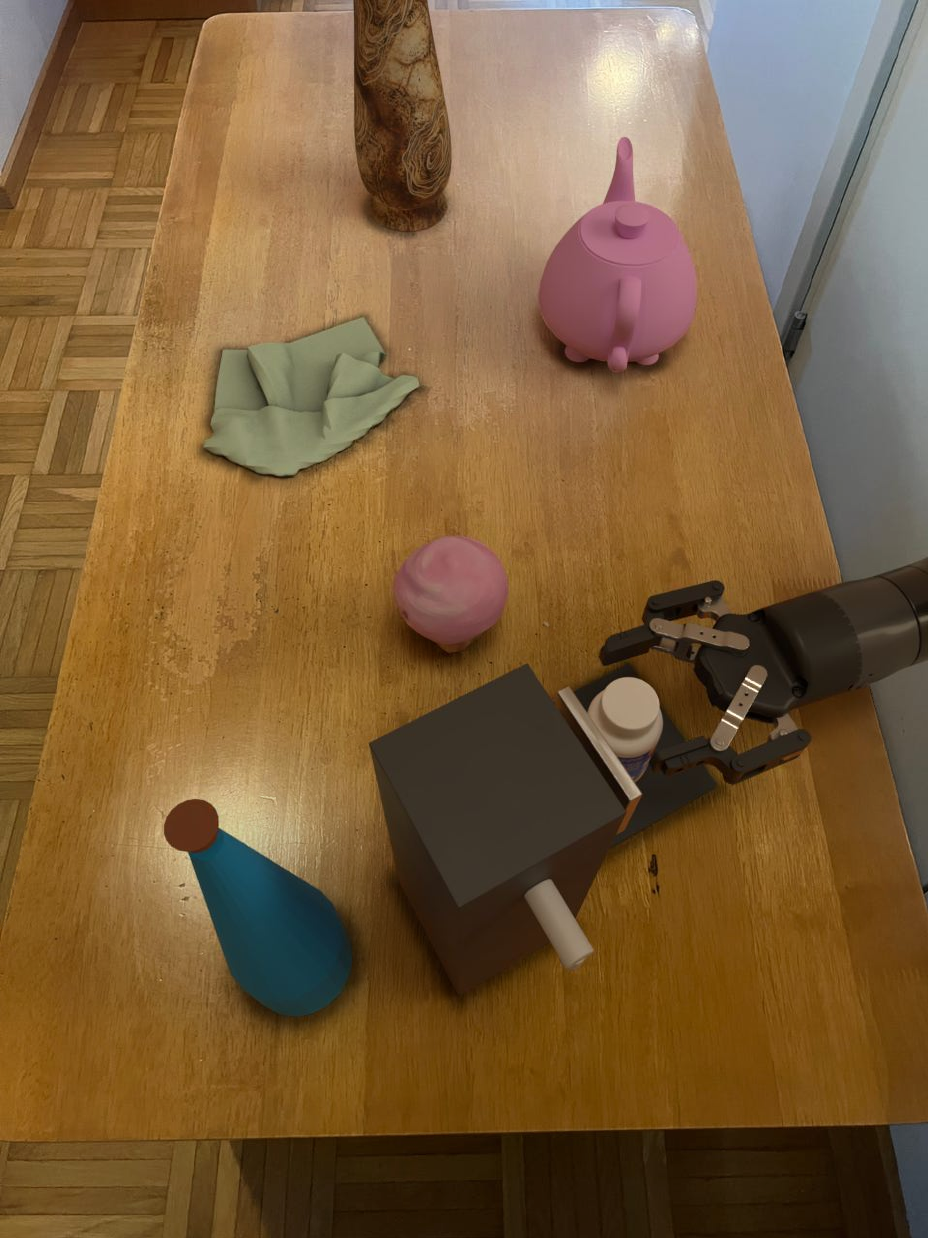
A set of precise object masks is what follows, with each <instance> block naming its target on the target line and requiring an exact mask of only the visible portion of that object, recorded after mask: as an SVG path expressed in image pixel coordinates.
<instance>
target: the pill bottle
mask: <svg viewBox="0 0 928 1238" xmlns="http://www.w3.org/2000/svg"><path fill="white" fill-rule="evenodd" d="M640 679H641V678H640ZM640 679H637V678H632V677H624V678H619V679H617V680H614V681H613V682H611V683H610V684H609V685H608V686H607V687H606V689H605V690H603V691H602V692H600V693H599V694H598V695H597V696H596V697H595V698H594V699H593V701H592V702H591V704H590V706H589V709H588V715H589V716H590V718H591V719H592V721H593V722H594V724H595V725H596V726H597V728H598V729H599V731H600V732H601V734H602V735H603V737H604V738H605V740H606V741H607V743H608V744H609V746H610V747H611V748H612V750H613V751H614V753H615V754H616V756H617V757H618V759H619V760H620V762H621V763H622V765H623V766H624V768H625V769H626V770H627V772H628V773H629V775H630V776H631V778H632V779H633V781H634V782H636V781H637V780H638V779H639V778H640V777H641V776H642V775H643V773H644V772H645V770H646V768H647V766H648V763H649V760H650V758H651V756H652V754H653V752H654V750H655V748H656V745H657V743H658V741H659V739H660V736H661V733H662V729H663V717H662V713H661V710H660V708H659V705H660V700H659V697H658V694H657V692H656V690H655V689H654V688H653V687H652V686H651V685H650V684H649V683H648V682H645V681H644V680H643V679H641V680H640Z"/></svg>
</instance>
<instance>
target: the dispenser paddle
mask: <svg viewBox="0 0 928 1238" xmlns="http://www.w3.org/2000/svg"><path fill="white" fill-rule="evenodd" d="M573 692H574V690H572V689H571V687H570V686H569V685H568V686H566V687H564V688H562V689H559V690H558V691H556V694H555V698H554V701H555V703H554V704H555V705H556V707H557V708H558V710H559V711H560V713H561V714H562V716H563V717H564V719H565V720H566V722H567V723H568V725H569V726H570V728H571V729H572V731H573V732H574V734H575V735H576V737H577V738H578V740H579V741H580V743H581V744H582V746H583V747H584V749H585V750H586V752H587V753H588V755H589V756H590V758H591V759H592V761H593V762H594V764H595V765H596V767H597V768H598V770H599V771H600V773H601V774H602V776H603V777H604V779H605V780H606V782H607V783H608V785H609V786H610V788H611V789H612V791H613V792H614V794H615V795H616V797H617V798H618V800H619V801H620V803H621V804H622V806H623V807H624V809H625V810H626V812H627V813H626V815H625V817H624V819H623V821H622V823H621V825H620V827H619V829H618V831H617V834H619V833H621V832H622V831H624V830H625V828H626V826H627V824H628V822H629V820H630V818H631V816H632V814H633V812H634V810H635V808H636V806H637V804H638V802H639V800H640V798H641V796H642V792H641V791H640V790H639V788H638V787H637V785H636V784H635V782H634V781H633V779H632V778H631V776H630V775H629V773H628V772H627V770H626V769H625V768H624V766H623V765H622V763H621V762H620V760H619V759H618V757H617V756H616V754H615V753H614V751H613V750H612V748H611V747H610V746H609V744H608V743H607V741H606V740H605V738H604V737H603V735H602V734H601V732H600V731H599V729H598V728H597V726H596V725H595V724H594V722H593V721H592V719H591V718H590V716H589V715H588V713H587V712H586V710H585V709H584V707H583V706H582V704H581V703H580V702H579V700H578V699H577V697H576V696H575V694H574V693H573ZM617 834H616V835H617Z"/></svg>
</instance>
